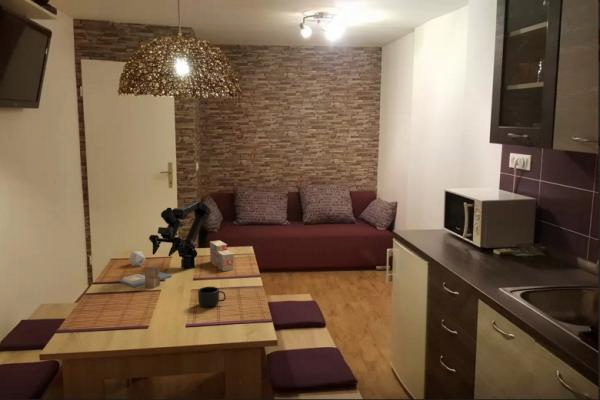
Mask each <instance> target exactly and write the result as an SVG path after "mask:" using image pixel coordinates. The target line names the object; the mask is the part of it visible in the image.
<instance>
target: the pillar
mask: <svg viewBox="0 0 600 400" xmlns="http://www.w3.org/2000/svg"><path fill="white" fill-rule="evenodd" d="M160 272H161V271H160V265H156V264H149V265H146V266H145V267H144V273H145V288H148V289H155V288H157V287H159V286H161V280H160Z"/></svg>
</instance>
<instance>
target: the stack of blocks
mask: <svg viewBox="0 0 600 400" xmlns="http://www.w3.org/2000/svg"><path fill="white" fill-rule="evenodd" d="M209 251H210V252H209V254H210V262H211V263H212V264H213V266H215V267H217V268H218V269H219V270H220V271H222V272H228V271H233V270H234V253H233V252H231V251H230V250H228V244H227V243H225V242H223V241H221V240H213V241H212V240H211V241H209Z"/></svg>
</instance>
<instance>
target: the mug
mask: <svg viewBox="0 0 600 400" xmlns="http://www.w3.org/2000/svg"><path fill="white" fill-rule="evenodd" d="M220 293H222V294H223V299H220ZM197 298H198V299H197V301H198V304H199V306H201V307H203V308H213V307H215V306H217V305H218V304H219V302H224V301H226V300H227V299H226V293H225V292H224V291H223V290H220V289H219V288H218V287H217V286H204V287H201V288H199V289H198V290H197Z"/></svg>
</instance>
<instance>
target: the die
mask: <svg viewBox="0 0 600 400" xmlns="http://www.w3.org/2000/svg"><path fill="white" fill-rule="evenodd" d="M128 260H129V262H130V264H131V266H132V267H142V266H143V264H144V263H145V260H146V257H145V255H144V253H143V251H141V250H140V251H139V250H137V251H132V252H131V253H130V255H129V258H128Z"/></svg>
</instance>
